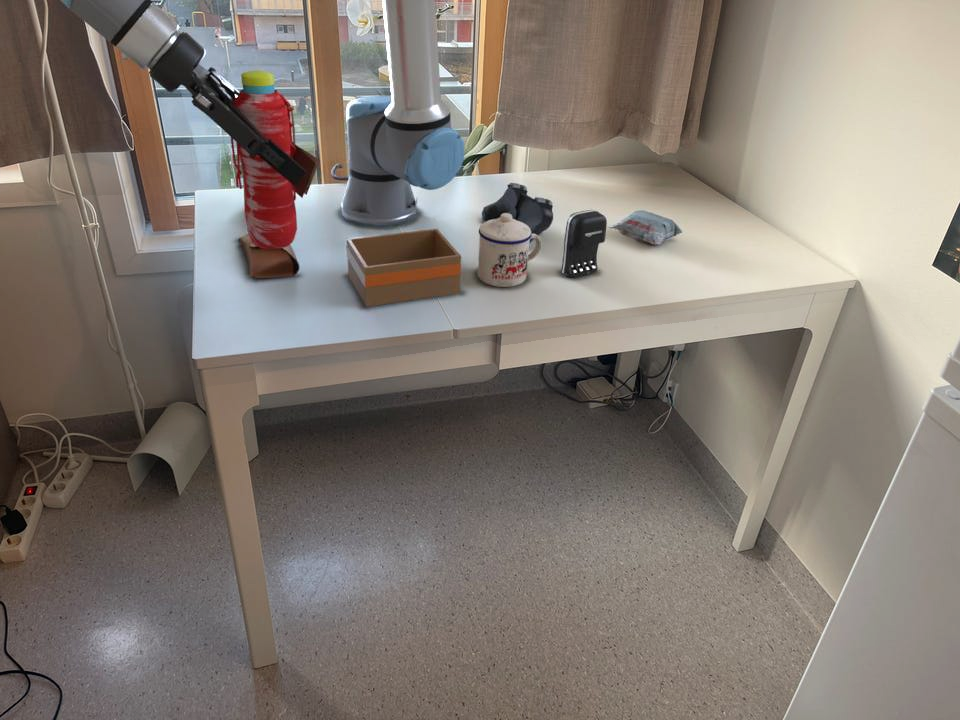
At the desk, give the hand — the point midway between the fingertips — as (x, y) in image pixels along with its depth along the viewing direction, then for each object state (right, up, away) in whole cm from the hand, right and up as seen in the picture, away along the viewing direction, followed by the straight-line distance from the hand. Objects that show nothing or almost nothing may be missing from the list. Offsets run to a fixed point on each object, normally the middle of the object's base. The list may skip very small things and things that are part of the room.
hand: (299, 168), depth 110 cm
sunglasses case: (-12, -10, +24) cm, 29 cm away
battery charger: (+45, -13, +25) cm, 53 cm away
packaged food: (+60, -4, +40) cm, 72 cm away
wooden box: (+14, -15, +18) cm, 27 cm away
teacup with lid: (+32, -13, +23) cm, 41 cm away
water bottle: (-4, -10, +6) cm, 12 cm away
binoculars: (+34, -2, +40) cm, 53 cm away
